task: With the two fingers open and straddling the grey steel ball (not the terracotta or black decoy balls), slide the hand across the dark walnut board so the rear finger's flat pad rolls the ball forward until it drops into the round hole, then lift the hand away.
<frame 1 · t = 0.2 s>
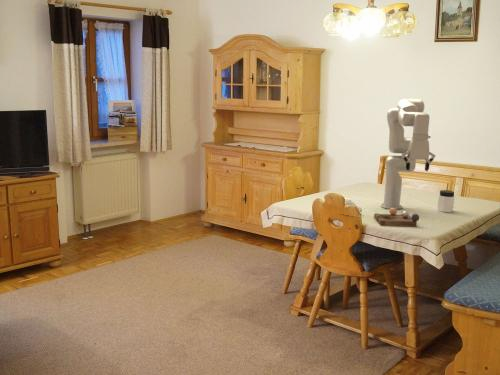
hand: (417, 170, 293), 30 cm above the table, tool pointing down, fingers open, 9 cm apart
black ball: (415, 217, 299), point 4 cm above the table, touching board
board: (394, 222, 306), on the table
steel ball: (405, 214, 305), point 4 cm above the table, touching board
penguin figurine: (351, 214, 323), on the table
jar: (445, 211, 338), on the table
terracotta ball: (393, 211, 312), point 4 cm above the table, touching board
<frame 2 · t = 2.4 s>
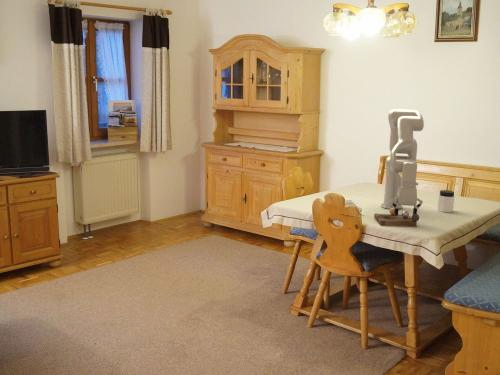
hand: (405, 215, 305), 4 cm above the table, tool pointing down, fingers open, 9 cm apart
nothing on the table moved.
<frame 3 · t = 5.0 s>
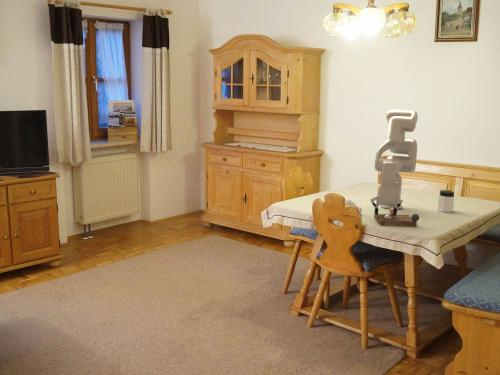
hand: (385, 215, 305), 4 cm above the table, tool pointing down, fingers open, 9 cm apart
steel ball: (387, 218, 306), point 2 cm above the table, tilted 71°
everything else where it was.
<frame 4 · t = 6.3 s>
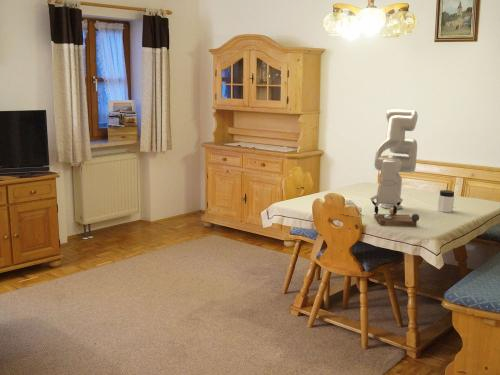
hand: (385, 213, 306), 4 cm above the table, tool pointing down, fingers open, 9 cm apart
nothing on the table moved.
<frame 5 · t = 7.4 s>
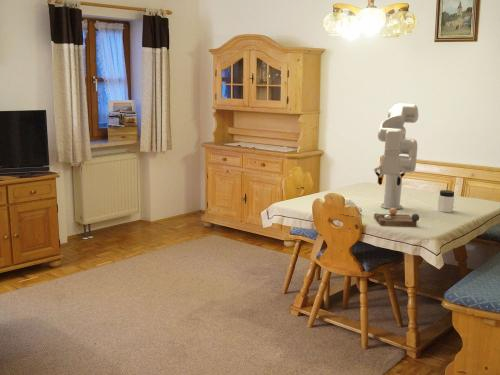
hand: (389, 184, 303), 20 cm above the table, tool pointing down, fingers open, 9 cm apart
nothing on the table moved.
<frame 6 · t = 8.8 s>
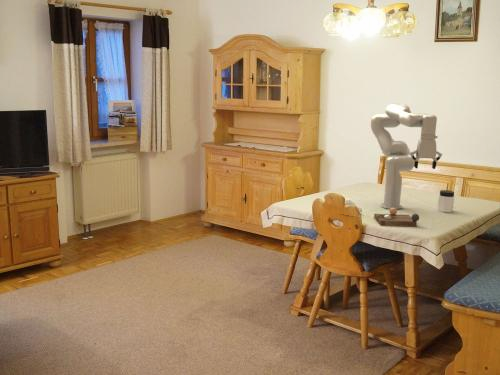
hand: (424, 168, 313), 28 cm above the table, tool pointing down, fingers open, 9 cm apart
nothing on the table moved.
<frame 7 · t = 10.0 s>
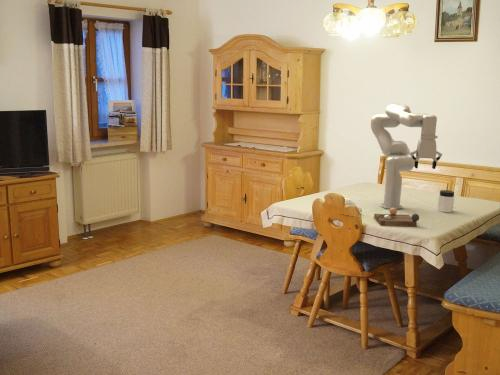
hand: (424, 168, 313), 28 cm above the table, tool pointing down, fingers open, 9 cm apart
nothing on the table moved.
at the end: steel ball 0.4 cm from the target spot on the board, point 2.0 cm above the board's base; black ball moved 0.0 cm from its start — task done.
